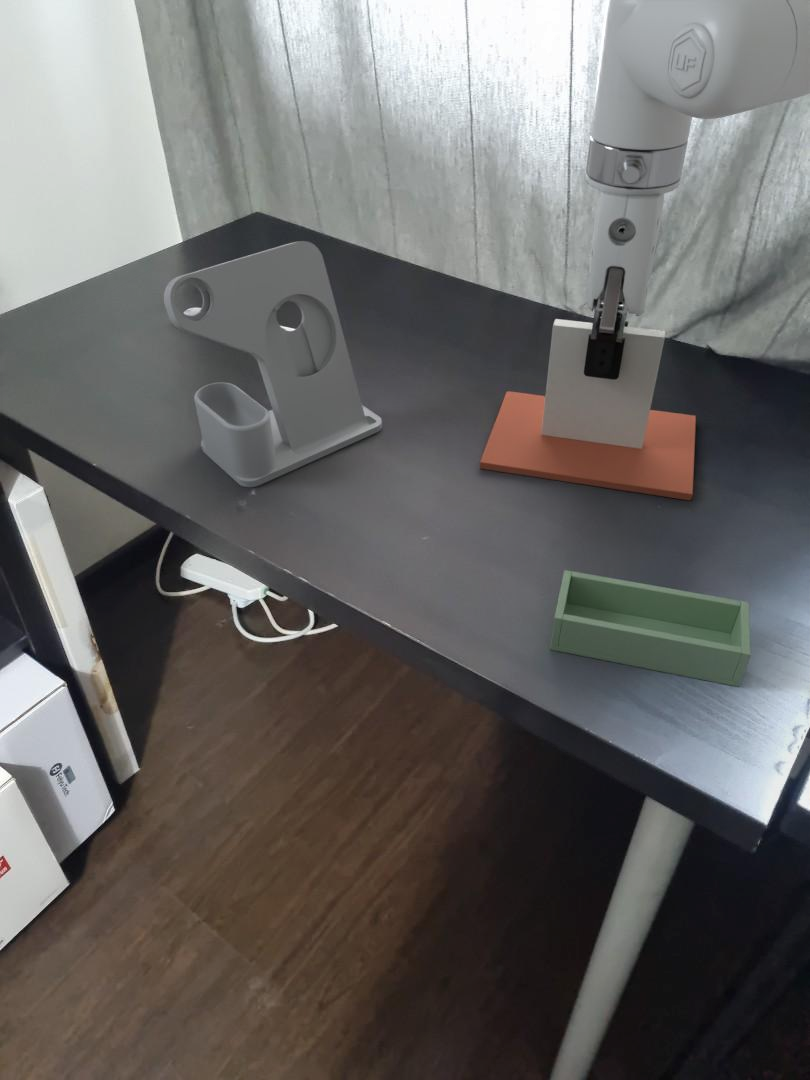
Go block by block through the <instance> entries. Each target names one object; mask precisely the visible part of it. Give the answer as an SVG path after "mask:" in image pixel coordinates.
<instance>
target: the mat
mask: <svg viewBox="0 0 810 1080" xmlns="http://www.w3.org/2000/svg"><path fill="white" fill-rule="evenodd" d="M544 404H545V395H539V394H532V393H524V392H516V391H506V392H505V395H504V398H503V400H502V403H501V406H500V408H499V411H498V414H497V416H496V419H495V422H494V423H493V427H492V428H491V431H490V435H489V437H488V440H487V443H486V445H485V448H484V450H483V453H482V456H481V458H480V461H479V469H480V470H485V471H486V470H488V471H495V472H499V473H507V474H513V475H520V476H525V477H532V478H539V479H540V478H541V479H546V480H552V481H560V482H566V483H571V484H572V483H573V484H577V485H578V484H579V485H585V486H592V487H599V488H604V489H611V490H619V491H624V492H632V493H637V494H644V495H645V494H646V495H650V496H657V497H665V498H671V499H676V500H677V499H678V500H684V501H690V502H691V501H692V499H693V495H694V479H695V478H694V477H695V475H694V474H695V452H696V450H695V449H696V427H697V416H696V415H692V414H685V413H676V412H671V411H670V412H669V411H663V410H662V411H661V410H654V409H650V413H649V418H648V423H647V427H646V432H645V437H644V442H643V447H642V449H638V448H631V447H624V446H617V445H610V444H603V443H596V442H589V441H582V440H575V439H567V438H560V437H553V436H546V435H541V432H542V423H543V414H544Z"/></svg>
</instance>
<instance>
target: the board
mask: <svg viewBox="0 0 810 1080" xmlns="http://www.w3.org/2000/svg"><path fill="white" fill-rule="evenodd" d="M592 326H593V322H589V321H588V322H587V321H580V320H579V321H577V320H571V319H570V320H569V319H560V318H555V319H554V321H553V325H552V331H551V342H550V350H549V359H548V369H547V377H546V378H547V379H546V387H545V395H544V396H545V404H544V414H543V423H542V432H541V435H546V436H553V437H560V438H567V439H575V440H582V441H589V442H596V443H603V444H610V445H617V446H624V447H631V448H638V449H642V447H643V442H644V437H645V432H646V427H647V423H648V418H649V413H650V410H651V407H652V402H653V398H654V394H655V393H654V392H655V388H656V383H657V378H658V373H659V369H660V364H661V358H662V355H663V354H662V353H663V348H664V343H665V339H666V330H661V329H651V328H642V327H633V326H628V327H625V326H624V332H623V338H625V343H624V349H623V355H622V361H621V367H620V372H619V377H618V379H616V380H612V379H604V378H596V377H588V376H585V375H584V367H585V360H586V352H587V345H588V338H589V334H591V333H592Z"/></svg>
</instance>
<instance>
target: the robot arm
mask: <svg viewBox="0 0 810 1080" xmlns="http://www.w3.org/2000/svg"><path fill="white" fill-rule="evenodd" d="M599 53H600V54H599V62H598V70H597V79H596V86H595V92H594V93H595V94H594V102H593V112H592V119H591V120H592V121H591V126H590V127H591V129H590V135H589V142H588V151H587V159H586V167H585V176H584V181H585V182H586V184H587V185H588V186H590V187H591V188H594V189H595V190H597V197H596V205H595V211H594V212H595V214H594V221H593V228H592V229H593V230H592V239H591V247H590V256H589V268H588V280H587V296H586V307H587V308H588V310H589V311H591V312H593V318H592V323H593V326H592V333H591V334H589V338H588V345H587V352H586V360H585V367H584V375H585V376H588V377H596V378H604V379H612V380H616V379H618V377H619V372H620V367H621V361H622V355H623V349H624V343H625V338H623V332H624V326H625V327H629V321H627V317H628V314H631V315H635V317H640V316H642V315H643V313H645V310H646V304H647V299H648V295H649V294H648V293H649V288H650V284H651V279H652V273H653V267H654V261H655V257H656V253H657V247H658V240H659V235H660V234H659V233H660V228H661V224H662V217H663V210H664V201H665V194H667V193H670V192H673V191H675V190H676V189H678V188H679V187H680V184H681V179H682V174H683V169H684V164H685V158H686V154H687V153H686V152H687V148H688V144H689V142H688V141H689V136H690V131H691V125H692V121H693V119H699V120H700V119H701V120H716V119H721V118H726V117H731V116H734V115H737V114H740V113H744V112H749V111H752V110H756V109H757V108H758V109H759V108H763V107H765V106H766V107H767V106H769V105H774V104H778V103H782V102H786V101H791V100H794V99H798V98H801V97H804V96H807V95H809V94H810V0H606V4H605V11H604V19H603V27H602V37H601V44H600V52H599Z"/></svg>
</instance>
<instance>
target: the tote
mask: <svg viewBox="0 0 810 1080" xmlns="http://www.w3.org/2000/svg"><path fill="white" fill-rule="evenodd" d="M562 574H563V575H562V580H561V584H560V589H559V594H558V598H557V602H556V609H555V612H554V616H553V624H552V630H551V638H550V646H549V650H551V651H555V652H561V653H565V654H570V655H575V656H580V657H585V658H591V659H596V660H601V661H605V662H610V663H611V662H612V663H616V664H621V665H626V666H631V667H637V668H641V669H645V670H651V671H657V672H661V673H665V674H671V675H676V676H681V677H687V678H692V679H697V680H702V681H707V682H712V683H716V684H723V685H727V686H731V687H732V686H733V687H736V688H737V687H738V688H739V687H740V684H741V682H742V680H743V676H744V675H745V672H746V670H747V669H746V668H747V666H748V664H749V661H750V658H751V656H752V650H751V646H752V645H751V625H750V624H751V620H750V619H751V618H750V602H749V601H743V600H738V599H731V598H726V597H721V596H715V595H709V594H705V593H704V594H703V593H697V592H692V591H687V590H682V589H681V590H680V589H675V588H670V587H664V586H657V585H653V584H646V583H641V582H636V581H630V580H626V579H625V580H624V579H618V578H612V577H606V576H601V575H595V574H591V573H584V572H579V571H573V570H567V569H564V570H563V573H562Z"/></svg>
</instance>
